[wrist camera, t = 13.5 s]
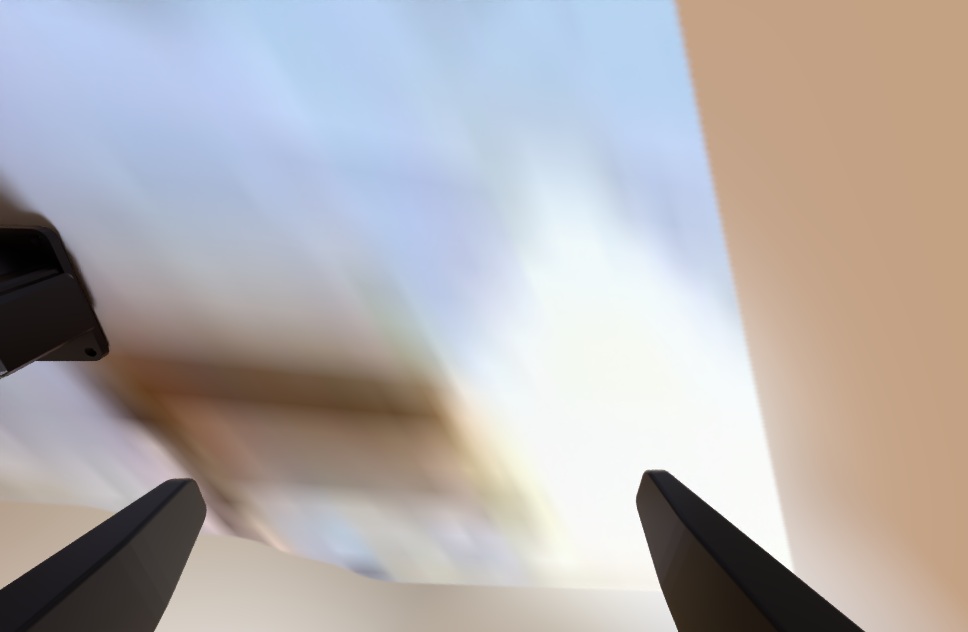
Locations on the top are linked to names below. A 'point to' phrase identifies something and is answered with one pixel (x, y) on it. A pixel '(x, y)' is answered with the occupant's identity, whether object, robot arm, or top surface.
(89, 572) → the robot arm
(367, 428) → the top surface
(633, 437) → the top surface
